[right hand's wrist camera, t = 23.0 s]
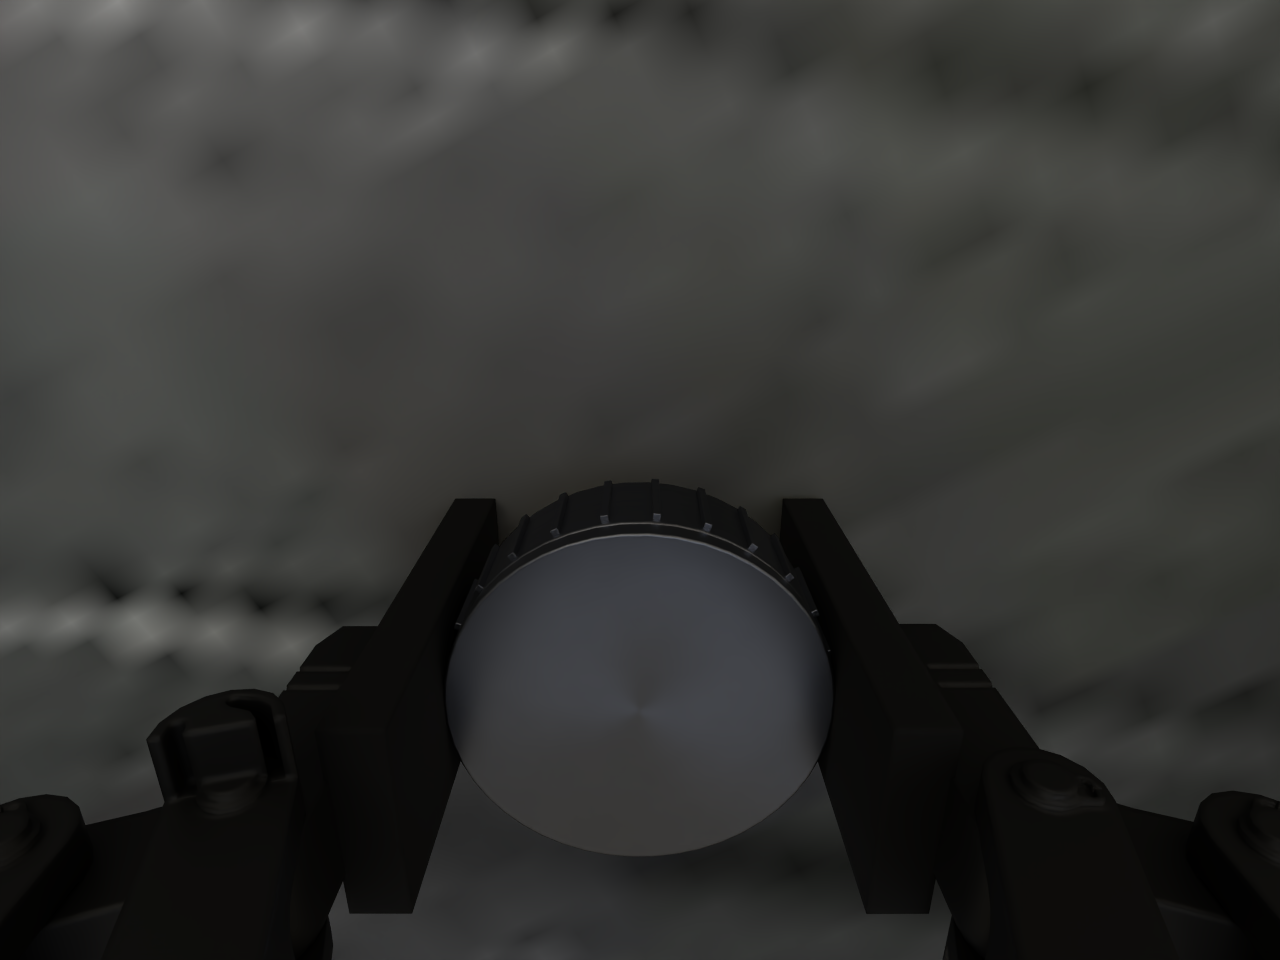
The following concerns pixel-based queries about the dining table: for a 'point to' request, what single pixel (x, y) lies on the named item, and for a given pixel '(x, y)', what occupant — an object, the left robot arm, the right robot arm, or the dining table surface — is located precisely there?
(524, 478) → the dining table surface
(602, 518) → the lid
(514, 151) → the dining table surface
